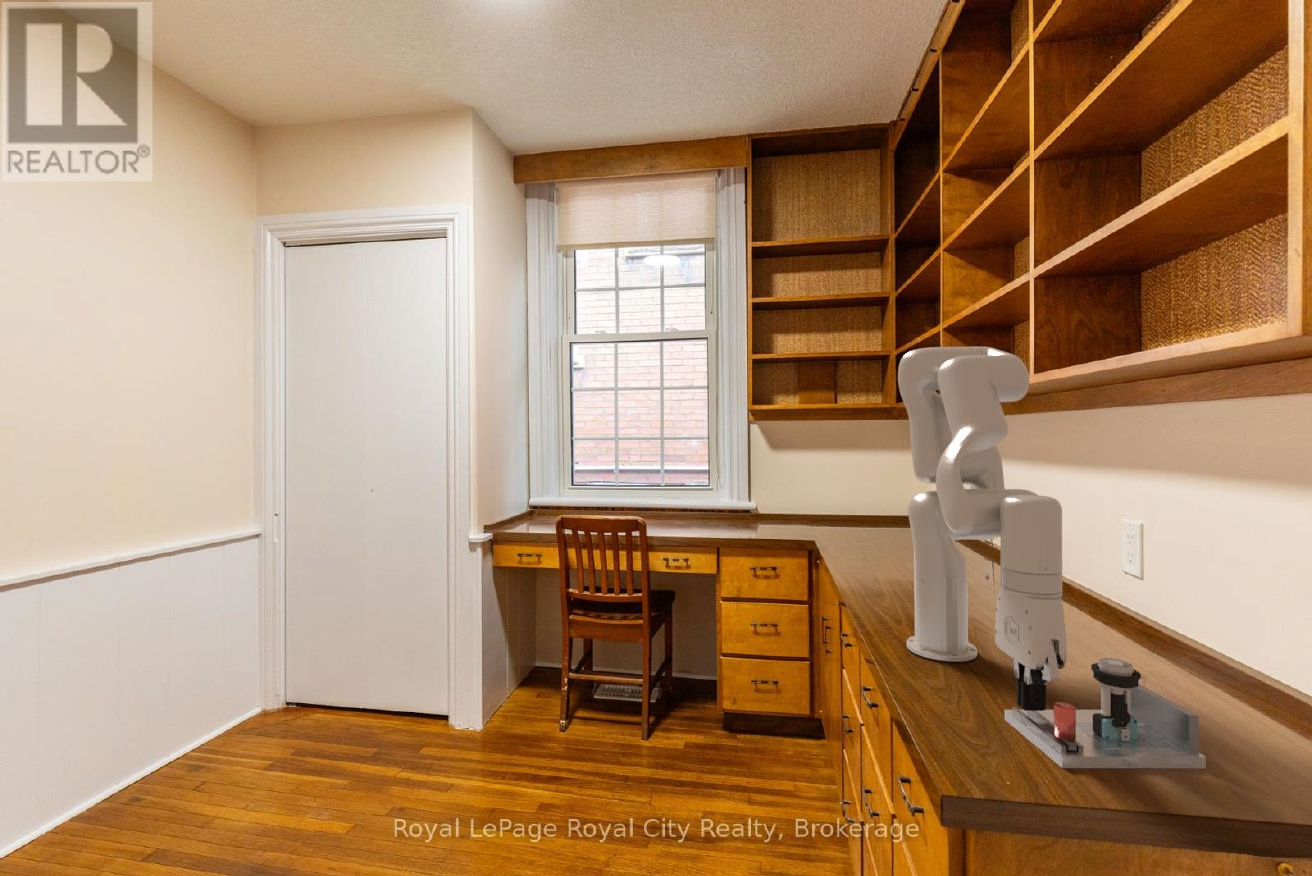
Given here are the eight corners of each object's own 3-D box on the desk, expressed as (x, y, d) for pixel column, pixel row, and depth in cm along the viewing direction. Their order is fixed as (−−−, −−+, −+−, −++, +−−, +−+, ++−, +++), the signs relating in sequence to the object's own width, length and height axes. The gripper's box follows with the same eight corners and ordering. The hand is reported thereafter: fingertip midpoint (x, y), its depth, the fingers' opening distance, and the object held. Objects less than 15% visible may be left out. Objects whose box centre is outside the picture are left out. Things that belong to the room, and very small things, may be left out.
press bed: (1004, 719, 89) (1004, 676, 89) (1126, 719, 88) (1126, 676, 88) (1061, 768, 76) (1061, 717, 76) (1205, 768, 75) (1205, 717, 75)
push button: (1127, 725, 83) (1126, 654, 83) (1161, 745, 78) (1161, 669, 78) (1082, 727, 83) (1081, 656, 83) (1114, 747, 78) (1113, 671, 78)
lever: (1048, 738, 80) (1047, 701, 80) (1066, 738, 80) (1066, 701, 79) (1063, 750, 77) (1062, 711, 77) (1081, 750, 76) (1081, 711, 76)
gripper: (977, 569, 93) (977, 685, 93) (1036, 596, 78) (1036, 734, 78) (1025, 569, 92) (1026, 685, 93) (1094, 595, 78) (1094, 734, 78)
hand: (1031, 707), depth 85 cm, fingers closed
